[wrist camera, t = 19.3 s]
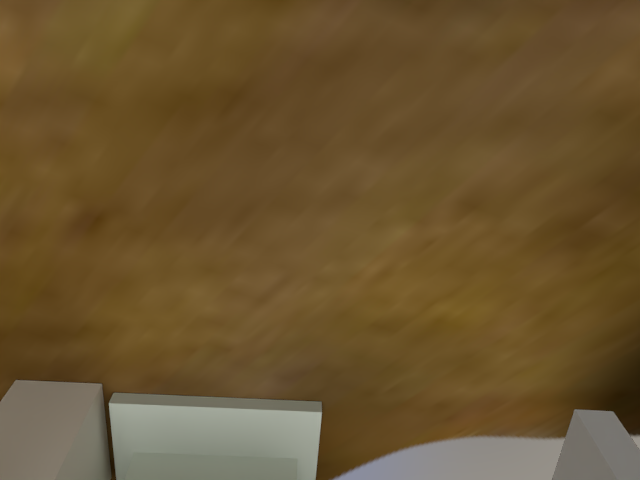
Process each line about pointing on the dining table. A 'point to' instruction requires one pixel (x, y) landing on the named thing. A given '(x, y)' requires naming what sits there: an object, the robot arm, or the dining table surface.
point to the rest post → (53, 432)
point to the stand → (213, 438)
